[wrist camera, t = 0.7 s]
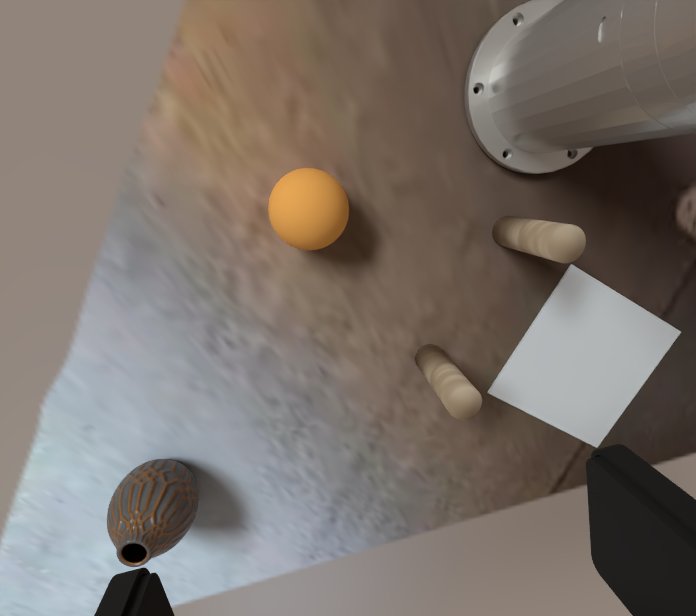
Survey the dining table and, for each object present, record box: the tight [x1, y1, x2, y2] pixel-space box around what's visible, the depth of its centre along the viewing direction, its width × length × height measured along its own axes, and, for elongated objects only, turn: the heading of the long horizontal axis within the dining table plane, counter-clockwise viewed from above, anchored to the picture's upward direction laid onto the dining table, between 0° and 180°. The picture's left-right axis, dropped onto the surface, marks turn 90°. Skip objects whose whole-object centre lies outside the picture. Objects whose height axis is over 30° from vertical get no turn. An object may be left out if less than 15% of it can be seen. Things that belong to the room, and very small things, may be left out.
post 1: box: [415, 344, 482, 419], centre depth 37 cm, size 3×3×9 cm
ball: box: [268, 168, 349, 250], centre depth 33 cm, size 6×6×6 cm
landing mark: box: [487, 265, 681, 448], centre depth 43 cm, size 14×14×1 cm
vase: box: [107, 459, 199, 567], centre depth 37 cm, size 7×7×9 cm
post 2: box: [492, 216, 586, 263], centre depth 34 cm, size 3×3×9 cm
